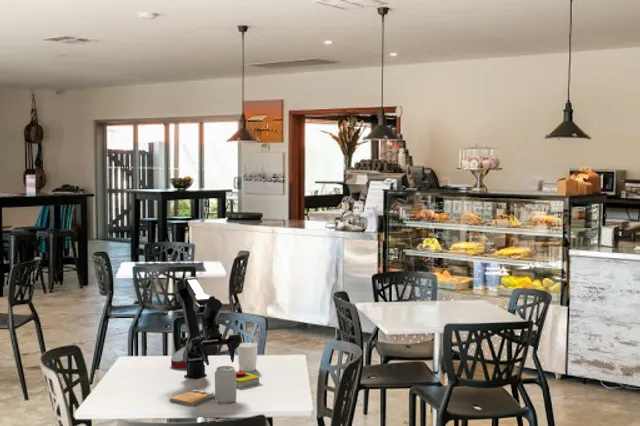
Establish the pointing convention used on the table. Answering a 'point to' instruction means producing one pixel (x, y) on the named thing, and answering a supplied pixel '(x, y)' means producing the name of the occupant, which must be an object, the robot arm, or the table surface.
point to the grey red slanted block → (178, 360)
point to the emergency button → (246, 380)
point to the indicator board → (193, 397)
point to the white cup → (247, 356)
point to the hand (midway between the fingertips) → (220, 363)
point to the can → (225, 384)
